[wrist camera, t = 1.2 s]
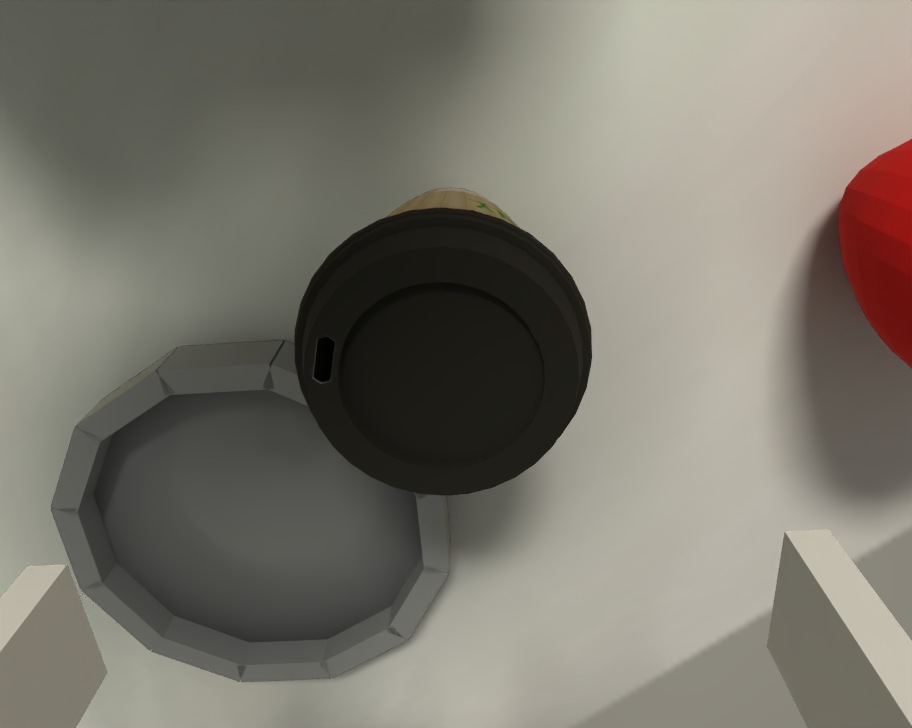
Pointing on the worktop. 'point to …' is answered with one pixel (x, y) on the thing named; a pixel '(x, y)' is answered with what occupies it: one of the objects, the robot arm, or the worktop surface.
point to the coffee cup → (443, 346)
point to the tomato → (881, 245)
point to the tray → (242, 522)
